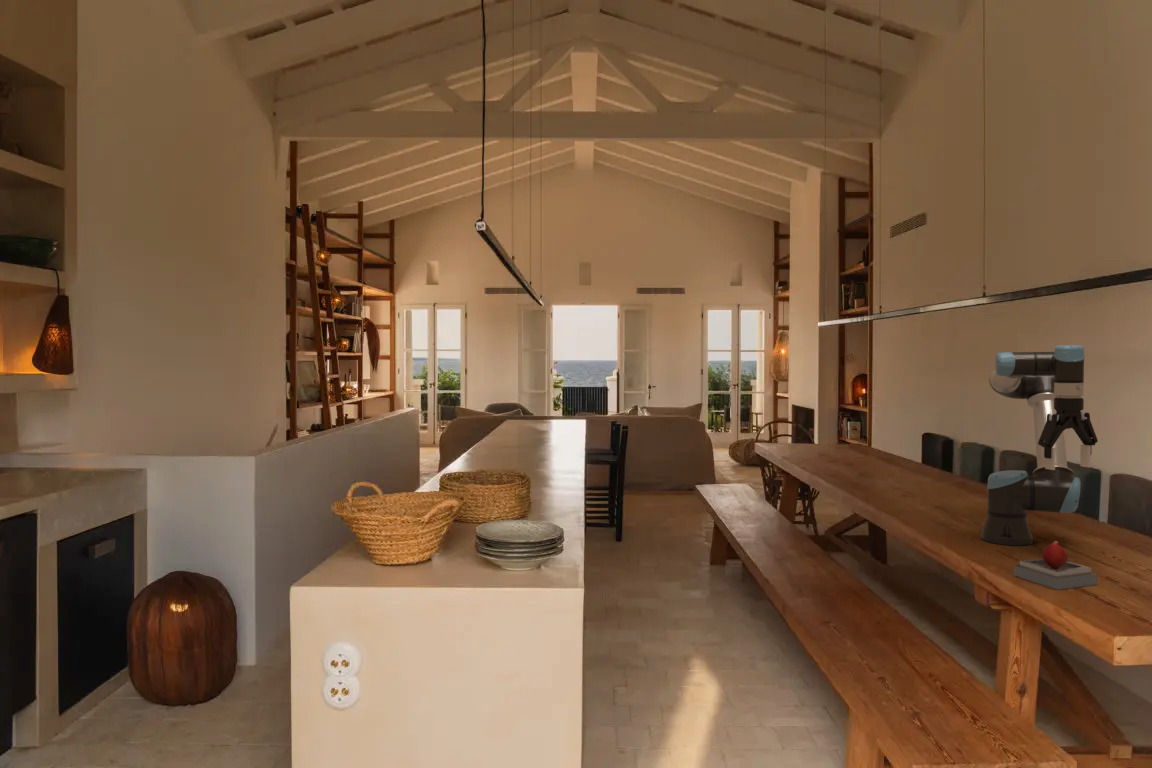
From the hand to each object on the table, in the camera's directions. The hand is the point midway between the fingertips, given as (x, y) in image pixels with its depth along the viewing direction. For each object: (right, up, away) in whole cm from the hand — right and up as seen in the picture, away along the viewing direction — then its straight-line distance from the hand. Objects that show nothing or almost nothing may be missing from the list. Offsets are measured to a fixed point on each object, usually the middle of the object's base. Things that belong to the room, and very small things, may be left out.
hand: (1067, 468), depth 235 cm
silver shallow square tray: (-13, -30, -15) cm, 36 cm away
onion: (-13, -27, -15) cm, 34 cm away
